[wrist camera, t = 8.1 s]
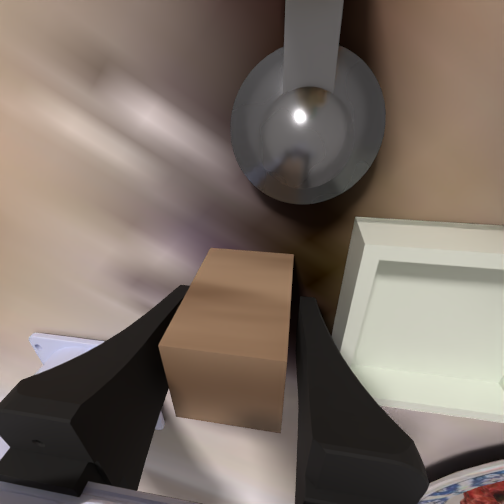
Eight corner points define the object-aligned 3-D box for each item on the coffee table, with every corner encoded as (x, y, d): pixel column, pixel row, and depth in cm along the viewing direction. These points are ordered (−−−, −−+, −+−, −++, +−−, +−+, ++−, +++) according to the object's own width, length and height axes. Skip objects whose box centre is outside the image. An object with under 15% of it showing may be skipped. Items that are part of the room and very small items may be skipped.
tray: (500, 382, 16) (528, 426, 14) (326, 361, 17) (329, 398, 15) (609, 231, 11) (675, 266, 9) (355, 216, 12) (365, 244, 10)
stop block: (288, 317, 16) (280, 433, 11) (216, 309, 16) (176, 416, 11) (293, 254, 14) (287, 361, 9) (210, 247, 14) (158, 345, 9)
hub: (362, 196, 12) (367, 208, 11) (239, 190, 12) (233, 200, 11) (393, 42, 9) (404, 38, 8) (235, 45, 10) (227, 42, 9)
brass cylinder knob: (343, 179, 10) (362, 234, 7) (261, 176, 10) (240, 227, 7) (398, -195, 6) (520, -547, 3) (260, -175, 6) (210, -460, 3)
